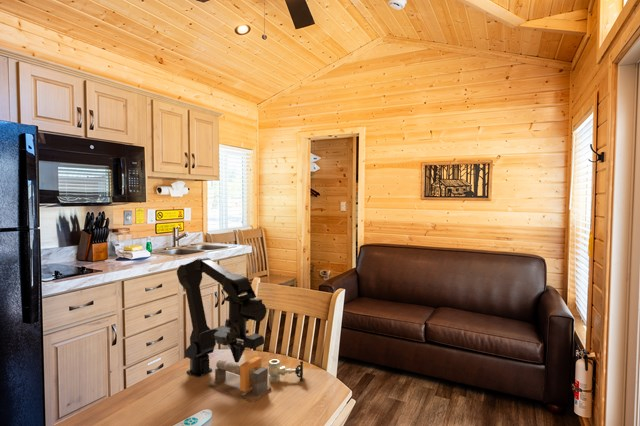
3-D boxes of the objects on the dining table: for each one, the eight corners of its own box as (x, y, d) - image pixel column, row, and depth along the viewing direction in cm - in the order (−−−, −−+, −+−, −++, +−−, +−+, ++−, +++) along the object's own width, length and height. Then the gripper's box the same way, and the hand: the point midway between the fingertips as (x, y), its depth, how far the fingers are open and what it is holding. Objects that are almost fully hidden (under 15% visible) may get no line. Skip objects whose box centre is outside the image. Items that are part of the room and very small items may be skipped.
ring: (240, 390, 120) (240, 365, 120) (256, 380, 127) (256, 356, 126) (244, 391, 119) (245, 366, 119) (261, 381, 126) (261, 357, 125)
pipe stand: (207, 385, 127) (207, 361, 126) (226, 374, 134) (226, 352, 134) (253, 402, 116) (253, 376, 116) (271, 390, 124) (271, 365, 124)
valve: (267, 384, 128) (302, 384, 128) (267, 365, 128) (302, 365, 128) (269, 375, 135) (302, 375, 135) (269, 357, 134) (303, 357, 135)
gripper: (198, 316, 123) (198, 364, 124) (241, 327, 113) (241, 378, 114) (223, 308, 133) (223, 352, 133) (265, 318, 123) (264, 365, 124)
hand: (237, 362), depth 126 cm, fingers closed
